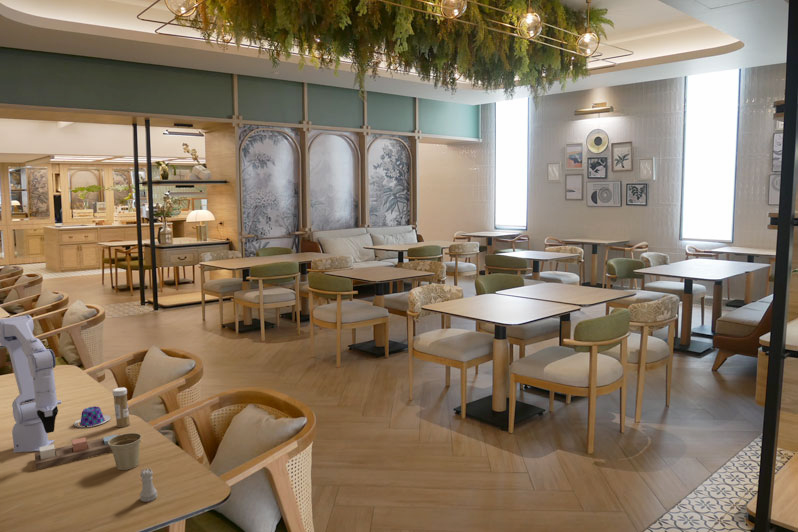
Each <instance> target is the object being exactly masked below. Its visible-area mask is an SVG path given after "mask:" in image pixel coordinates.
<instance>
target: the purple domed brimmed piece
mask: <svg viewBox="0 0 798 532" xmlns="http://www.w3.org/2000/svg"><path fill="white" fill-rule="evenodd" d="M104 418H105V419H104ZM109 420H111V415H108V414H103V412H102V410H101V408H100V407H99V406H96V405H95V406H90V407H86V408H84V409H82V412H81V416H80V419H77V420H76V421H75V422H74V423H73V425H74V426H75V427H77V428H91V427H95V426H99V425H102V424H104V423H107V422H108V421H109ZM79 421H81V422H80V425H81V426H79V425H78V423H79ZM95 424H96V425H95ZM92 425H93V426H92ZM85 426H87V427H85Z"/></svg>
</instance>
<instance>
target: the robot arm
mask: <svg viewBox="0 0 798 532" xmlns="http://www.w3.org/2000/svg"><path fill="white" fill-rule="evenodd" d="M34 327H35V326H34V320H33V317H32V316H31V315H30V314H25V315H20V316H13V317H7V318H0V346H2V347H5V348H6V350H7V351H8V354H9V358H10V361H11V366H12V369H13V373H14V377H15V381H16V382H15V383H16V386H17V389H18V395H17V396H16V398H15V399H14V400H13V401H12V404H11V407H12V416H13V419H14V421H15V423H14V424H13V427H12V431H11V433H12V443H13V449H14V450H12V453H26V452H29V453H30V452H40V448H39V447H43V446H48V445H52V444H53V443H54V442H55V440H54V439H49V436H48V435H49V434H51V433H54V432H55V424H56V419H57V415H58V412H59V409H58V405H61V404H62V399H61V400H60V399H59V400H58V399H57V392H56V391H57V388H56V387H57V386H56V381H55V380H56V379H55V371H54V368H56V364H57V362H56V355H55V352H54V351H53V350H52V349H51V348H46V347H45V345H44V344H43V342H42V341H41V340H40V339H39V338H38V337H35V336H34V334H33V332H34V330H35V328H34Z"/></svg>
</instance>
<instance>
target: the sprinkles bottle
mask: <svg viewBox="0 0 798 532" xmlns="http://www.w3.org/2000/svg"><path fill="white" fill-rule="evenodd" d="M127 394H128V389H127V388H126V387H118V388H117V387H116V388H114V389H112V395H113V403H114V413H115V419H116V425H115V426H116V427H117V428H125V427H128V426H130V424H131V422H130V413H129V403H128V395H127Z"/></svg>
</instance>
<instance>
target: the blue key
mask: <svg viewBox="0 0 798 532" xmlns="http://www.w3.org/2000/svg"><path fill="white" fill-rule="evenodd" d="M117 435H118V434H113V435H108V436H104V437H102V438H103V443H104V445H108V441H109V440H110V439H111V438H113V437H115V436H117Z"/></svg>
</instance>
